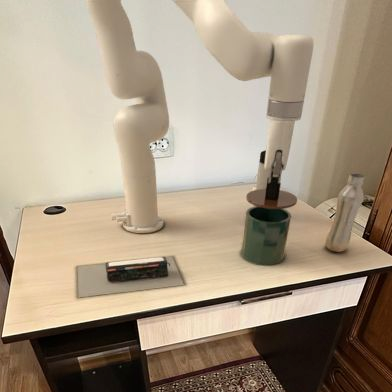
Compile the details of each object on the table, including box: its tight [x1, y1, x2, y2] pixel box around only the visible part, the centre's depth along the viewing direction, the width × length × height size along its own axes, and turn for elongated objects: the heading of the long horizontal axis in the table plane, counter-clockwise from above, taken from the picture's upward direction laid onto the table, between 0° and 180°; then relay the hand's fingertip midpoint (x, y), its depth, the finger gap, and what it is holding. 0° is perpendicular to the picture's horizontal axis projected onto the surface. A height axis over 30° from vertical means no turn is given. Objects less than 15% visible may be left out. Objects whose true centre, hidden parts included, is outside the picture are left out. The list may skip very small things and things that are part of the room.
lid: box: [245, 189, 298, 210], centre depth 90 cm, size 13×13×6 cm
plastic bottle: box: [325, 173, 365, 253], centre depth 98 cm, size 6×7×20 cm
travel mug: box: [253, 149, 270, 207], centre depth 115 cm, size 6×7×20 cm
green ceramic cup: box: [241, 206, 292, 266], centre depth 97 cm, size 12×12×12 cm
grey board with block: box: [77, 256, 185, 298], centre depth 90 cm, size 14×25×4 cm, turn 104°
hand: (271, 196), depth 91 cm, fingers closed on lid, 2 cm apart
